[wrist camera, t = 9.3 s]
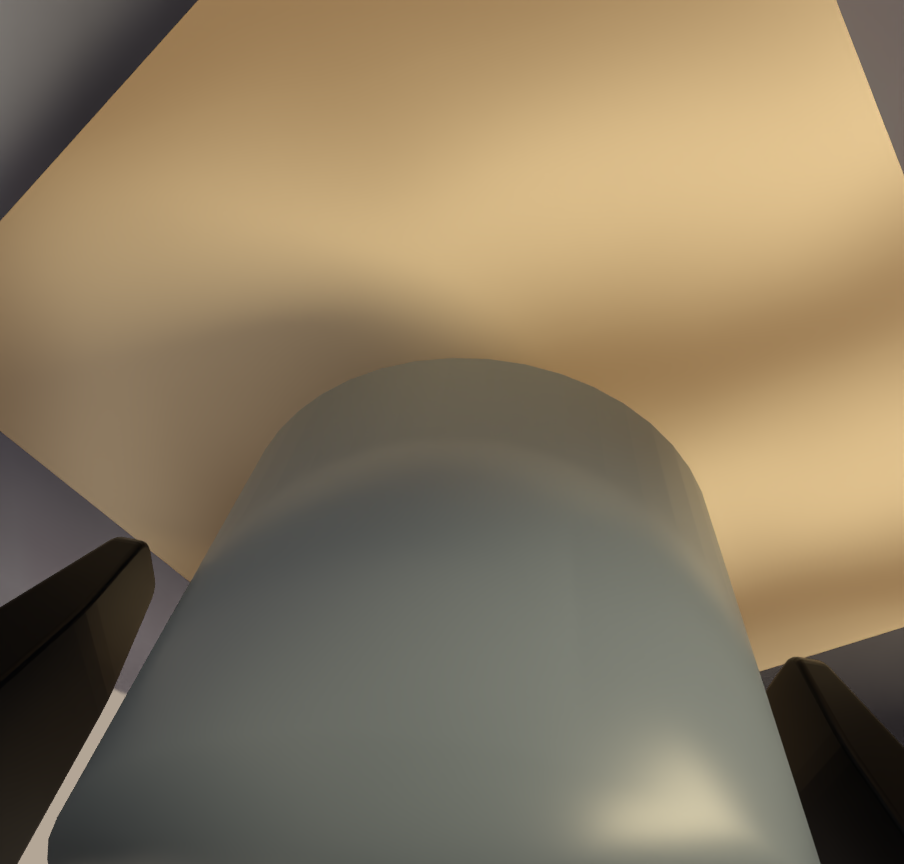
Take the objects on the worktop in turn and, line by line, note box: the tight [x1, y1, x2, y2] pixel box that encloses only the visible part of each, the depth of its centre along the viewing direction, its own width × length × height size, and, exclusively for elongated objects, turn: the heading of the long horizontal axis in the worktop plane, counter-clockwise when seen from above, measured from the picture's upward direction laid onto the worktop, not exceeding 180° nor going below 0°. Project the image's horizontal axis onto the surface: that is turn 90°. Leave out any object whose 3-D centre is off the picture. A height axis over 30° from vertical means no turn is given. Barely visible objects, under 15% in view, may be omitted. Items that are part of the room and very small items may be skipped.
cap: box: [47, 358, 821, 864], centre depth 8 cm, size 7×7×5 cm
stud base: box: [0, 0, 904, 672], centre depth 12 cm, size 16×15×4 cm
